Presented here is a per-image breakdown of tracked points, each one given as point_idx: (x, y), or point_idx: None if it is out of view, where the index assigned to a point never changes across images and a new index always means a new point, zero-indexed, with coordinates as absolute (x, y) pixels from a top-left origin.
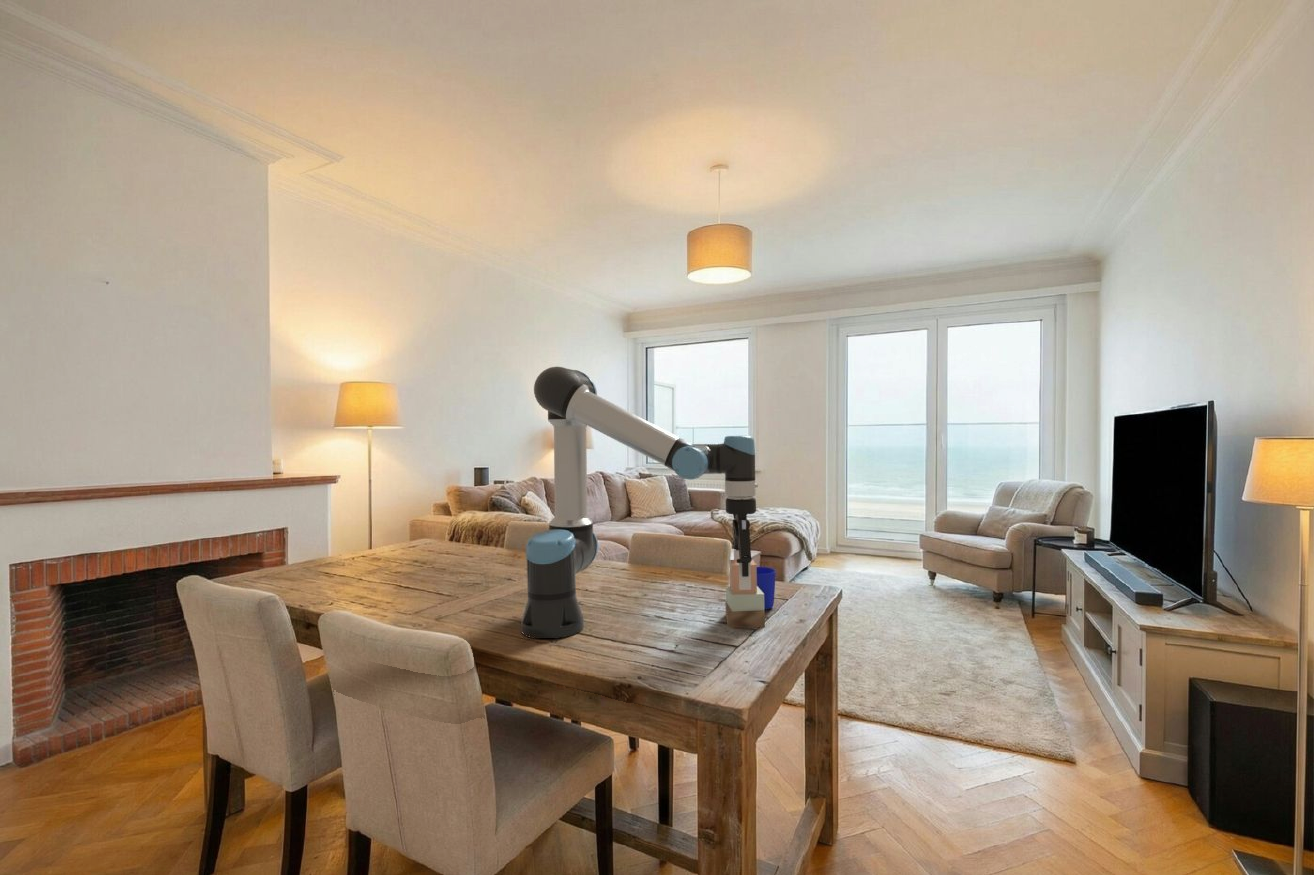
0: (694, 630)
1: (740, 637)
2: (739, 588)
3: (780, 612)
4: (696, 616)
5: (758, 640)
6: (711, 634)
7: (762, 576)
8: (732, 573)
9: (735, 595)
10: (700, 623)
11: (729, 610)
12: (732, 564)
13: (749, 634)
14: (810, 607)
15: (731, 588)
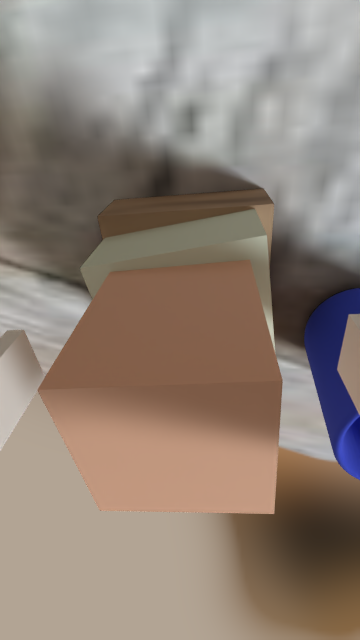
0: (31, 32)
1: (18, 246)
2: (12, 333)
3: (281, 371)
4: (252, 17)
5: (13, 297)
6: (9, 132)
7: (331, 432)
8: (69, 344)
9: (87, 286)
10: (138, 58)
11: (117, 226)
12: (72, 395)
13: (55, 274)
14: (319, 437)
15: (150, 275)
